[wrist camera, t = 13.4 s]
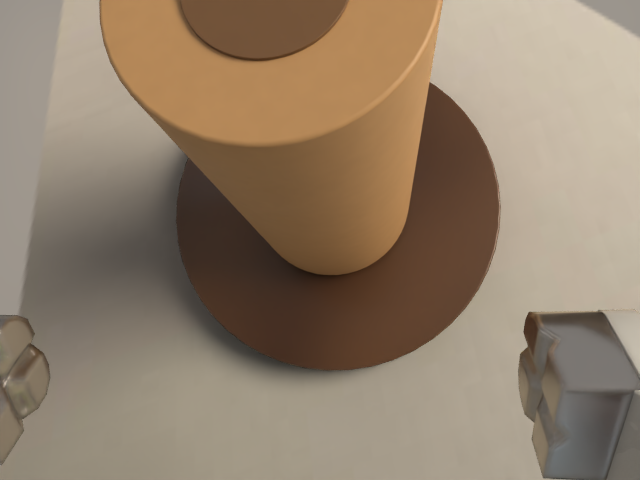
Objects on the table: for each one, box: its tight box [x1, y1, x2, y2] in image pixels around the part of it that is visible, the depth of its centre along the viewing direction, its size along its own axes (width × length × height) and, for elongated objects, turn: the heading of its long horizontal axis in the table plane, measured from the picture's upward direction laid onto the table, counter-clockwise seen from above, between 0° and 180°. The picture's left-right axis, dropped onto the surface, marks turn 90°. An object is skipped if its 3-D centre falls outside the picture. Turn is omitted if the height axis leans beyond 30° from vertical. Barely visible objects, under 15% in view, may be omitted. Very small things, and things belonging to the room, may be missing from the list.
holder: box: [176, 82, 501, 370], centre depth 25 cm, size 14×14×2 cm
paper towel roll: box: [99, 0, 443, 275], centre depth 17 cm, size 6×7×14 cm
